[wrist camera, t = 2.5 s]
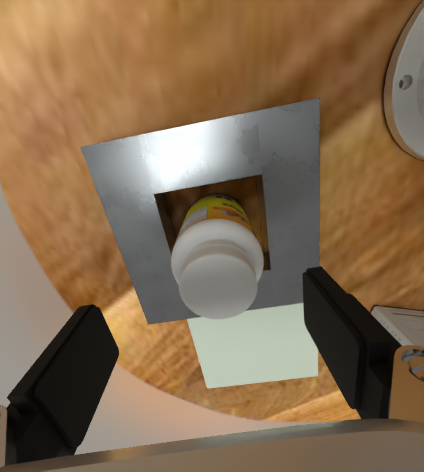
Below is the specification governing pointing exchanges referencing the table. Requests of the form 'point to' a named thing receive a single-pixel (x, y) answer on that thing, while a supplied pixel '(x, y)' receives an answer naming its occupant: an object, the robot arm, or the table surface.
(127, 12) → the table surface
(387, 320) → the supplement box
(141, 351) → the table surface
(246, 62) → the table surface
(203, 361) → the sage mat
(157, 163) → the socket block
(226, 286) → the supplement bottle
